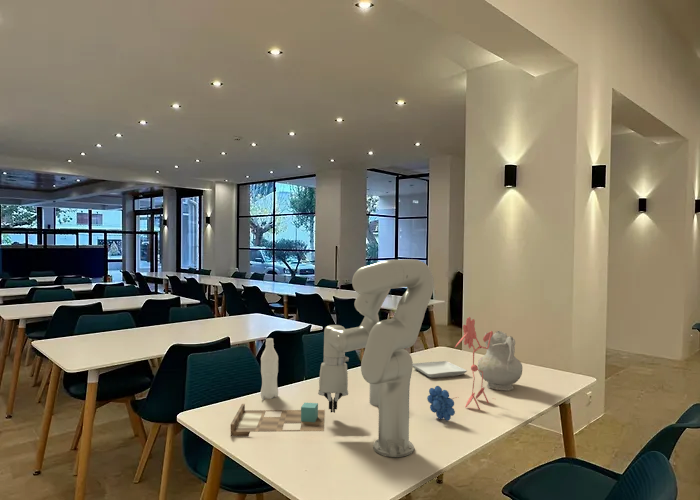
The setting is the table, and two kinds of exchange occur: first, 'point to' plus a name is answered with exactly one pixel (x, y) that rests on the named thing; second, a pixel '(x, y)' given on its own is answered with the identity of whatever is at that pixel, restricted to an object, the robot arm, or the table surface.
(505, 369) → the ceramic pitcher
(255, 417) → the board
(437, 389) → the grapes
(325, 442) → the table surface
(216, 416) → the table surface
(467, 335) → the pink stick figure
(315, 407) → the block
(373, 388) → the cup
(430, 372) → the salad plate
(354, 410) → the table surface
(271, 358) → the water bottle
